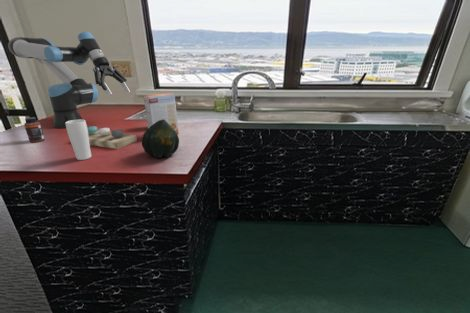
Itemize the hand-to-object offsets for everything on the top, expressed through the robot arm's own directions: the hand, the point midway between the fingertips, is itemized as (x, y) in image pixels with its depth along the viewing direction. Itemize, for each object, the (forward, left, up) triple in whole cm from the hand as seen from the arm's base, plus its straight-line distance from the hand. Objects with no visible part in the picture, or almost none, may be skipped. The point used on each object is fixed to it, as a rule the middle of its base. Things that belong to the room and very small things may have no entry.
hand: (119, 94), depth 140 cm
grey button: (+23, -28, -14) cm, 38 cm away
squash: (+50, -32, -18) cm, 62 cm away
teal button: (+7, -28, -14) cm, 32 cm away
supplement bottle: (-17, -39, -18) cm, 46 cm away
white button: (+15, -28, -14) cm, 34 cm away
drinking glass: (+23, -46, -18) cm, 55 cm away
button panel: (+15, -28, -18) cm, 36 cm away
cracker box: (+35, -10, -18) cm, 40 cm away
